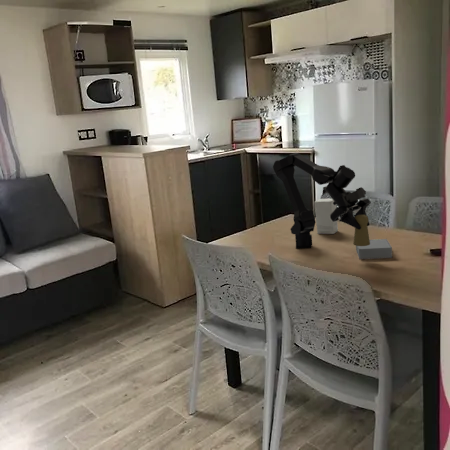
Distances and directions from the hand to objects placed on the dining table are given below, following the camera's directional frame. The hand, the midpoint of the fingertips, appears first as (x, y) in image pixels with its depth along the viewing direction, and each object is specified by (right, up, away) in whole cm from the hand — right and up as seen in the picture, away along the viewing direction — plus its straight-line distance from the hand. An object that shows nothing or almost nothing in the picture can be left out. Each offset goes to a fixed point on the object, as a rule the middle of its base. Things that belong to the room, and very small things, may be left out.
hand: (364, 227), depth 183 cm
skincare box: (-4, -3, +48) cm, 48 cm away
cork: (0, -6, +3) cm, 7 cm away
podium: (+6, -10, +10) cm, 16 cm away
